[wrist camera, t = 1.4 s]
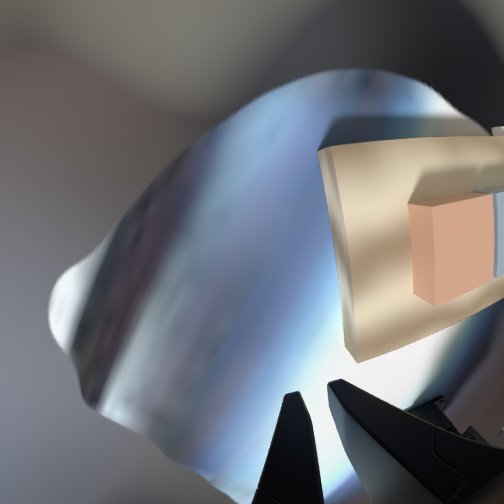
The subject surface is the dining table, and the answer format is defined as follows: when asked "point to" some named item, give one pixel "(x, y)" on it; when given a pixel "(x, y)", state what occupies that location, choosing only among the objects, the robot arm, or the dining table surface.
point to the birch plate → (398, 232)
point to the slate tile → (497, 227)
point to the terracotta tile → (451, 245)
